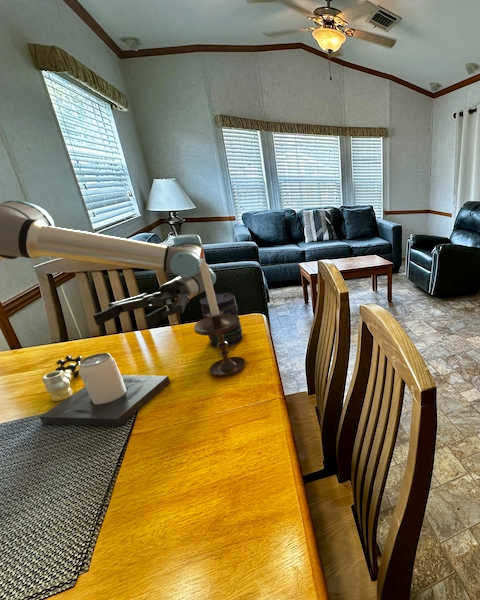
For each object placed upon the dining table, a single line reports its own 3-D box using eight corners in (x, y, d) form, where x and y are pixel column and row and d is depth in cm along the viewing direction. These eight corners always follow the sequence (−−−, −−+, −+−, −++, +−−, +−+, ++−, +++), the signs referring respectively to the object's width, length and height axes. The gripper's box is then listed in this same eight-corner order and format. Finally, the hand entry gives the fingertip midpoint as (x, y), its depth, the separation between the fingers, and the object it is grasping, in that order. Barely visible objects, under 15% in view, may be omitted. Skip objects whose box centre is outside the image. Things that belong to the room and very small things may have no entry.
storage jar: (220, 350, 102) (210, 306, 96) (204, 342, 107) (192, 300, 101) (249, 337, 109) (241, 296, 104) (232, 330, 114) (223, 290, 109)
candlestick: (250, 355, 99) (227, 240, 86) (246, 375, 90) (219, 249, 77) (210, 361, 96) (180, 243, 83) (202, 382, 87) (166, 253, 73)
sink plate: (42, 424, 73) (38, 416, 72) (105, 380, 88) (102, 374, 87) (120, 426, 72) (117, 419, 71) (170, 382, 87) (168, 375, 86)
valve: (77, 397, 81) (93, 372, 91) (67, 375, 79) (84, 352, 89) (41, 405, 78) (61, 379, 88) (29, 383, 76) (51, 358, 86)
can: (114, 410, 77) (96, 367, 72) (87, 410, 77) (67, 367, 72) (135, 392, 83) (119, 351, 78) (110, 392, 83) (93, 351, 78)
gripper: (219, 303, 103) (173, 334, 83) (143, 301, 104) (80, 332, 84) (214, 280, 100) (166, 308, 81) (136, 279, 101) (69, 306, 81)
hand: (121, 320), depth 82 cm, fingers open, 13 cm apart
